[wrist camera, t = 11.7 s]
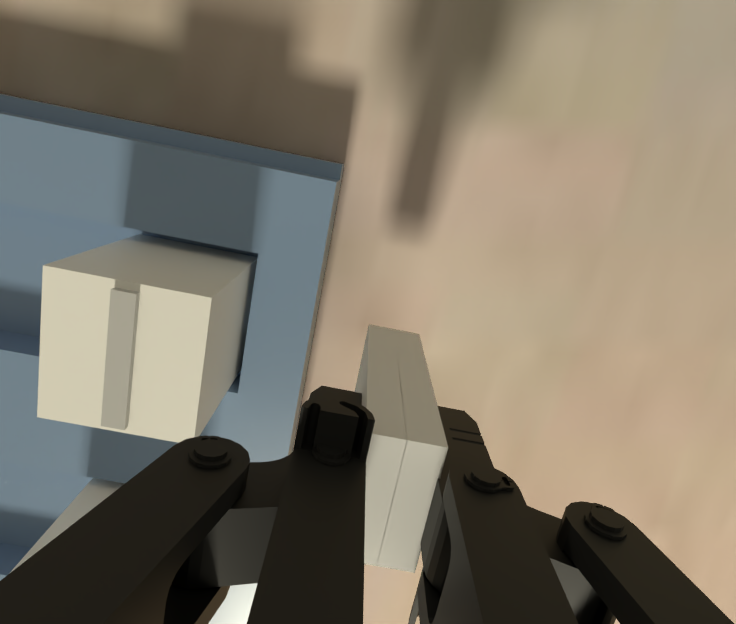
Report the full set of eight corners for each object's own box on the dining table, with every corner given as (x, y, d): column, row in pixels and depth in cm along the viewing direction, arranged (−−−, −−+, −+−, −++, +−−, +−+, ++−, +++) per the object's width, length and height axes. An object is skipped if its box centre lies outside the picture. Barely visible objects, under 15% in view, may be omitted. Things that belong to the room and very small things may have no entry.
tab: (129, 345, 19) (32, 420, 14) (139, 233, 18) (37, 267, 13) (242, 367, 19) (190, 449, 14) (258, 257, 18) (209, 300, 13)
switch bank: (-132, 558, 23) (-198, 610, 21) (-161, 60, 18) (-256, 43, 15) (261, 624, 24) (247, 683, 21) (344, 164, 19) (339, 165, 16)
